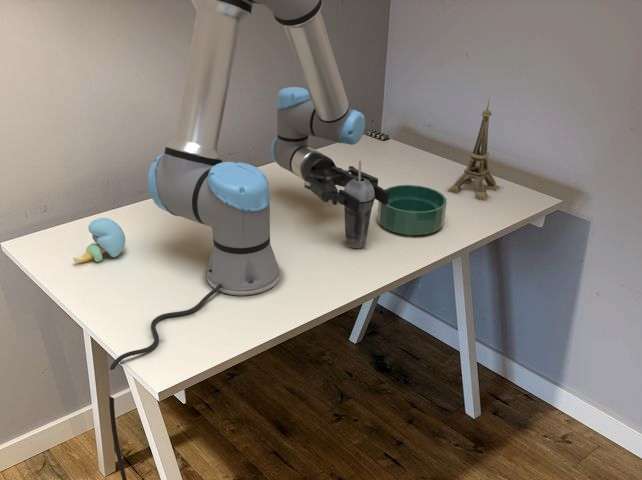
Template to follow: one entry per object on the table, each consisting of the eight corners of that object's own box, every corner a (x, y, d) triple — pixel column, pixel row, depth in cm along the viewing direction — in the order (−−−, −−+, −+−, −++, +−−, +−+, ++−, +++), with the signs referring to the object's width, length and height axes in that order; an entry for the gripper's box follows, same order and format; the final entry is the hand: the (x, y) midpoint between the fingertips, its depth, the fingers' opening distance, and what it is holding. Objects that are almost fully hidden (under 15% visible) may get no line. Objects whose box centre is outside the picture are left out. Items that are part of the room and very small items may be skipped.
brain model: (58, 225, 143) (110, 207, 149) (69, 261, 149) (119, 243, 154) (71, 238, 139) (125, 219, 144) (82, 274, 144) (133, 255, 150)
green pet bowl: (430, 243, 157) (433, 218, 153) (367, 228, 163) (368, 203, 159) (451, 217, 169) (455, 192, 165) (391, 204, 174) (393, 180, 170)
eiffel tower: (499, 187, 184) (517, 93, 169) (484, 200, 177) (502, 103, 162) (463, 178, 189) (478, 85, 174) (447, 191, 182) (461, 95, 167)
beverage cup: (374, 238, 158) (381, 155, 146) (367, 252, 152) (374, 167, 140) (343, 234, 159) (348, 151, 147) (336, 248, 154) (340, 163, 142)
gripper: (347, 174, 167) (407, 208, 152) (277, 191, 158) (333, 229, 143) (349, 145, 163) (410, 176, 148) (277, 160, 154) (334, 195, 139)
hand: (372, 202), depth 145 cm, fingers closed on beverage cup, 7 cm apart
